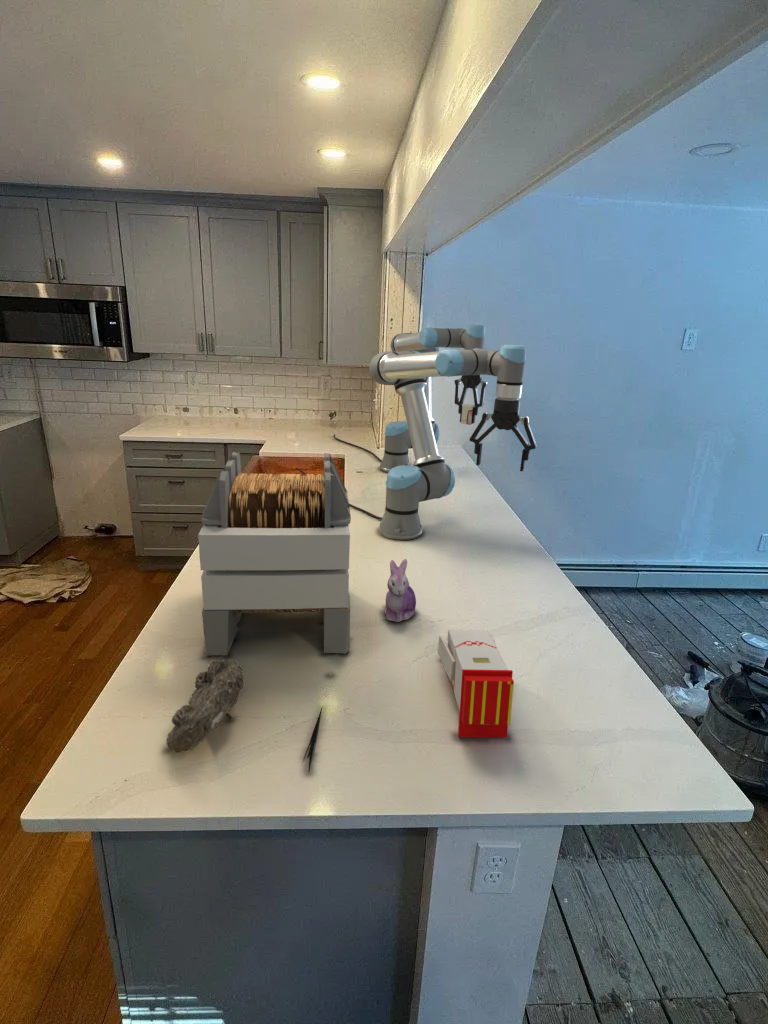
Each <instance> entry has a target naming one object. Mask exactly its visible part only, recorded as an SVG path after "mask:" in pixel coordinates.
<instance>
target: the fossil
mask: <svg viewBox="0 0 768 1024" xmlns="http://www.w3.org/2000/svg"><path fill="white" fill-rule="evenodd" d="M243 670H244V669H243V667H242V665H240V664H237V662H236V661H235V660H234V659H232V658H231V659H227V658H226V659H224V660H223V661H222V660H217V659H212V660H211V661H210V663H209V665H208V666H207V671H201V672H199V673H198V674H197V675H196V676H195V680H194V684H195V685H194V687H195V689H194V690H193V693H192V694H191V697H190V698H189V700H188V704H184V705H182V706H181V707H180V709H177V710H176V711H175V713H174V715H173V716H172V718H171V723H172V724H173V727H172V730H171V731H170V732H168V734H167V738H166V741H167V742H166V745H167V749H168V750H169V751H173V752H174V753H176V754H178V753H182V752H188V751H189V752H192V751H193V750H195V748H196V747H197V746H199V744H200V743H201V742H203V741H204V740H205V739H206V738H207V737H208V736H209V735H210V734H211V733H212V732H214V730H215V729H217V727H218V726H219V724H220V722H221V721H222V720H223V719H224V718H225V716H226V717H227V719H229V720H233V717H232V715H230V714H229V710H230V709H231V708H234V706H235V704H236V703H237V702H238V699H239V697H240V695H241V693H242V691H243V690H245V689H244V688H245V675H244V671H243Z"/></svg>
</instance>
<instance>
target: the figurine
mask: <svg viewBox="0 0 768 1024" xmlns="http://www.w3.org/2000/svg"><path fill="white" fill-rule="evenodd" d="M407 567H408V559H406V558H404V559H403V560H402V561H401V563H400V565H399V566H398V565H397V563H396V562H395V561H394V560H393V559H391V560H390V561H389V570H390V576H389V578H388V579H387V589H388V591H387V592H386V594H385V595H386V596H385V607H384V615H385V616H386V620H387V621H391V622H395V623H400V622H402V621H406V620H409V619H410V618H411V617H413V616H414V615H415V610H416V606H417V597H416V593H415V591H414V590H413V587H411V586H410V582H409V579H408V577H407V574H406V571H407Z"/></svg>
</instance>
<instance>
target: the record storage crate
mask: <svg viewBox="0 0 768 1024" xmlns="http://www.w3.org/2000/svg"><path fill="white" fill-rule="evenodd" d="M241 463H242V462H241V453H240V452H235V451H233V452H231V455H230V457H229V459H227V460H226V463H225V466H224V468H223V470H222V471H220V474H219V475H218V477H217V479H216V482H215V483H214V486H213V489H212V491H211V494H210V495H209V498H208V499H207V502H206V505H205V507H204V509H203V511H202V514H201V517H200V520H201V524H202V527H201V529H200V530H199V532H198V535H197V538H198V550H199V552H198V553H199V563H200V565H199V567H200V571H202V573H201V575H200V580H201V581H200V582H201V594H202V605H203V607H202V609H201V610H202V611H201V617H202V629H203V638H204V639H203V640H204V649H205V650H204V651H205V652H204V655H205V656H206V657H212V656H228V654H229V652H230V650H231V647H232V645H233V643H234V640H235V638H236V635H237V632H238V623H240V620H241V617H242V614H244V613H250V614H251V613H253V614H254V613H257V614H258V613H298V612H301V613H302V612H308V613H309V612H322V614H323V654H344V655H346V654H347V653H349V652H350V639H351V604H350V595H349V594H350V593H349V586H350V585H349V584H350V572H349V571H350V570H349V569H350V549H351V548H350V547H351V545H350V542H351V533H350V532H351V531H350V526H349V525H350V524H351V520H352V516H351V515H352V514H351V509H350V506H349V504H350V502H349V496H348V490H347V488H346V486H345V484H344V482H343V480H342V478H341V474H340V473H339V471H338V469H337V466H336V465H335V462H334V460H333V458H332V455H331V454H330V453H326V452H324V453H323V473H322V474H321V473H318V474H316V475H315V474H314V473H306V474H307V475H304V474H303V475H302V474H301V473H280V474H273V473H244V472H243V473H242V466H241Z"/></svg>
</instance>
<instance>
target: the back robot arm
mask: <svg viewBox="0 0 768 1024" xmlns="http://www.w3.org/2000/svg"><path fill="white" fill-rule="evenodd" d="M485 339H486V326H485V325H484V324H483V325H482V324H467V325H466V328H462V327H461V328H448V327H447V328H442V327H424V328H422V329H421V330H420V331H417V332H402V333H397V334H396V335H394V336H393V337H392V339H391V341H390V349H391V351H416V352H420V353H426V352H436V351H440V348H445V349H448V348H449V349H463V350H468V349H475V348H484V347H485ZM426 382H427V386H426V388H425V389H424V393H425V397H426V401H427V406H428V410H429V414H430V419H431V423H432V428H433V432H434V436H435V441H436V444H437V443H438V441H439V439H440V427H439V425H438V424H437V423H435V422H436V421H435V419H434V417H433V416H432V377H429V379H428V380H427V381H426ZM461 384H462V385H463V388H462V392H461V395H460V391H461V390H460V389H461ZM454 385H455V388H454V389H455V391H454V405H457V406H458V410H457V413H458V414H459V415H460V416H459V423H461V418H462V406H463V405H464V402H465V398H466V395H467V393H468V389H471V390H472V394H473V403H474V405H475V407H473V413H472V424H471V425H473V424H475V423H476V416H478V415H479V408H480V407H483V406H484V404H485V397H486V396H485V395H486V388H487V386H488V381H484V380H482V375H464V376H460V378H457V379H454ZM479 385H480V386H481V389H480V395H479V393H478V386H479ZM333 438H334V440H336V441H339V442H340V443H344V444H346V445H349V446H352V447H355V448H357V449H361V450H363V451H365V452H367V453H369V454H370V455H372V456H374V457H375V458H376V459H377V461H379V462H380V464H379V470H380V471H381V472H383V473H386V474H388V472H389V470H391V469H392V468H394V467H397V466H402V465H405V466H406V465H411V461H410V458H409V450H410V449H413V447H412V443H411V438H410V434H409V429H408V425H407V421H406V420H397V421H391V422H389V423H387V424H386V426H385V431H384V451H383V452H384V454H383V455H382V456H383V457H382V459H381V458H380V457H379V456H377V455H376V454H375V453H374V452H373V451H370V450H368V449H367V448H364V447H362V446H359V445H356V444H353V443H350V442H348V441H344V440H342V439H340V438H338V437H336V434H335V433H334V434H333Z"/></svg>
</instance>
